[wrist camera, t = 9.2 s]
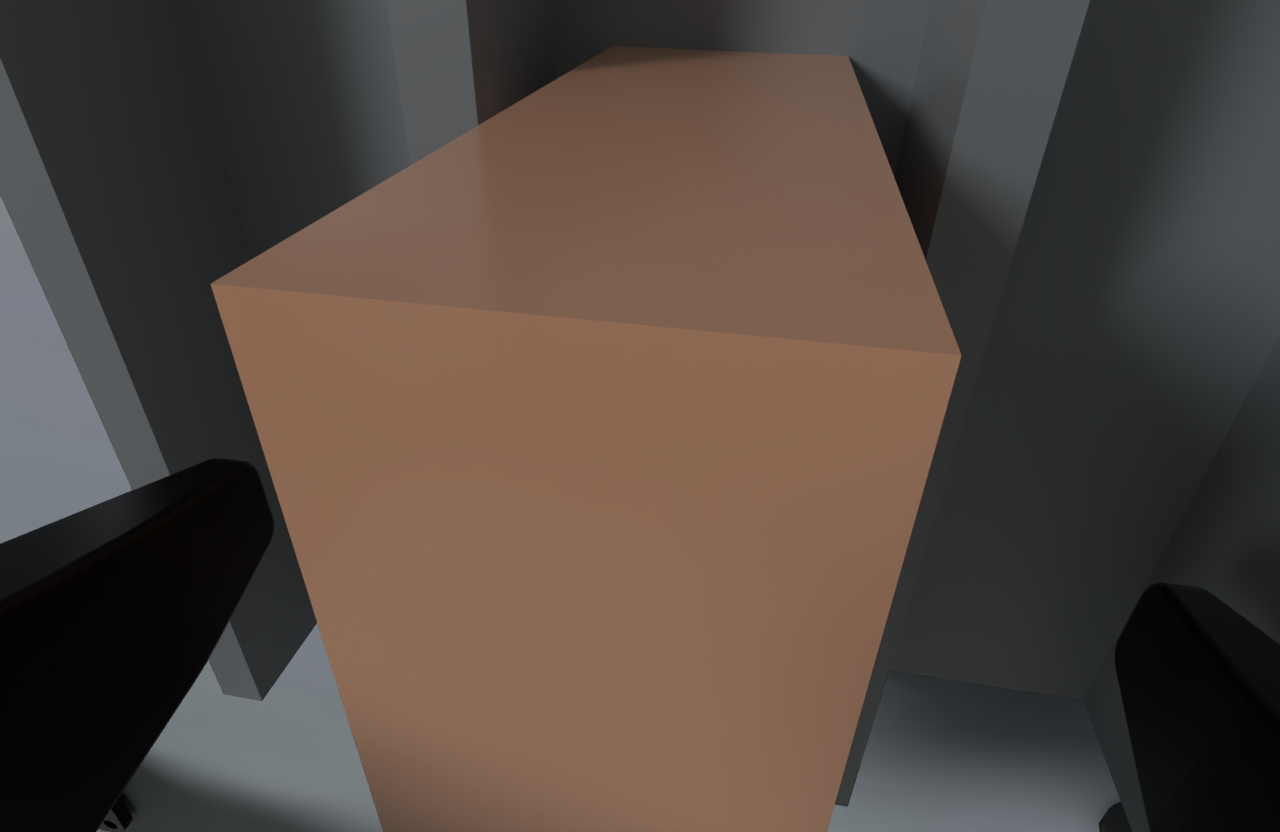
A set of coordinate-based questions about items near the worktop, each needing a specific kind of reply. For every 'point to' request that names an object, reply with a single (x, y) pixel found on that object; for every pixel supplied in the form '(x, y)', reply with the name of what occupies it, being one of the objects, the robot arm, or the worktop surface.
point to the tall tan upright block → (607, 446)
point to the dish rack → (933, 196)
